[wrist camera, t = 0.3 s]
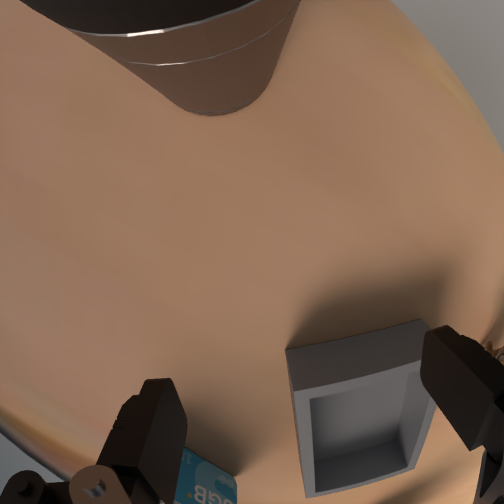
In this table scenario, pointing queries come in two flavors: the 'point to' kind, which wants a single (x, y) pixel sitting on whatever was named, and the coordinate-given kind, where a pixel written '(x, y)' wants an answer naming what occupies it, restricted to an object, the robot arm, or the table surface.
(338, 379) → the bin
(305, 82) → the table surface
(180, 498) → the data package
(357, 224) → the table surface
